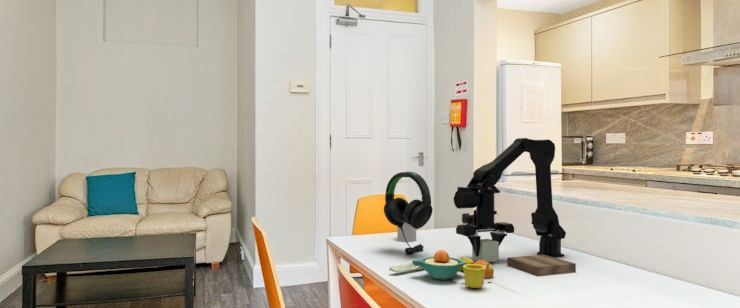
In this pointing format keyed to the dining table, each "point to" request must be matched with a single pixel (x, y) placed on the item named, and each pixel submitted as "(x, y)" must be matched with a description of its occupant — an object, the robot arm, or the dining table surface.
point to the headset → (408, 207)
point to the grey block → (406, 233)
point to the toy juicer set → (450, 268)
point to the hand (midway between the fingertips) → (485, 255)
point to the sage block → (487, 250)
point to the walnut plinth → (541, 265)
